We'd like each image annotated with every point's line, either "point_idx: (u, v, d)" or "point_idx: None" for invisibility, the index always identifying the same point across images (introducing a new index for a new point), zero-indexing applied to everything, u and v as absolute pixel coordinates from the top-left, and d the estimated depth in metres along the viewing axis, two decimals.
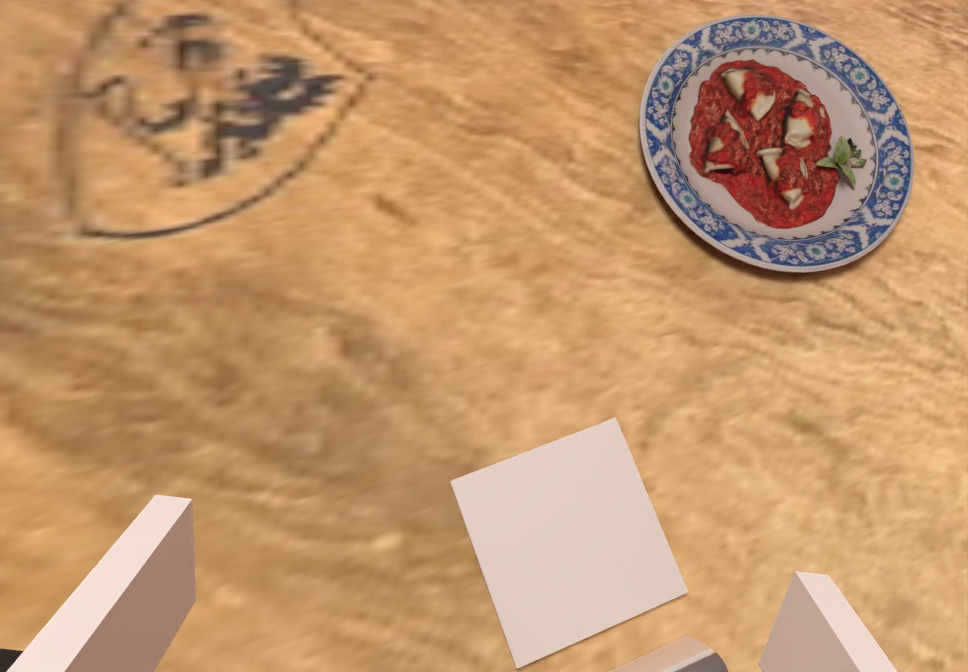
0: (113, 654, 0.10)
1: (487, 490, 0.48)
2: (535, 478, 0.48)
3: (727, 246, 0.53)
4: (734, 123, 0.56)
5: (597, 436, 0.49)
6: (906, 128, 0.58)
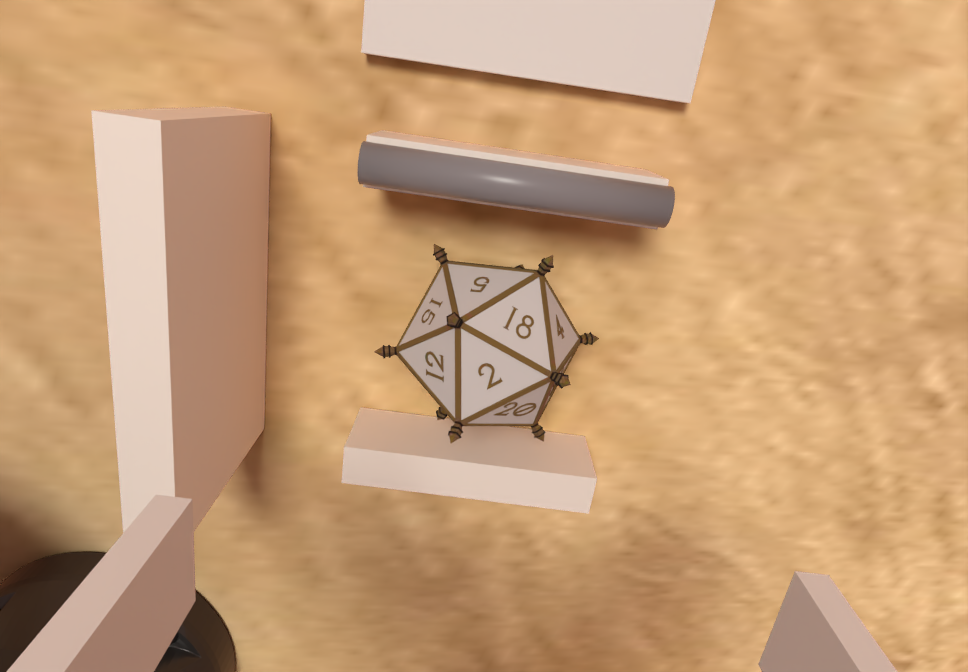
0: (113, 654, 0.10)
1: None
2: None
3: None
4: None
5: None
6: None
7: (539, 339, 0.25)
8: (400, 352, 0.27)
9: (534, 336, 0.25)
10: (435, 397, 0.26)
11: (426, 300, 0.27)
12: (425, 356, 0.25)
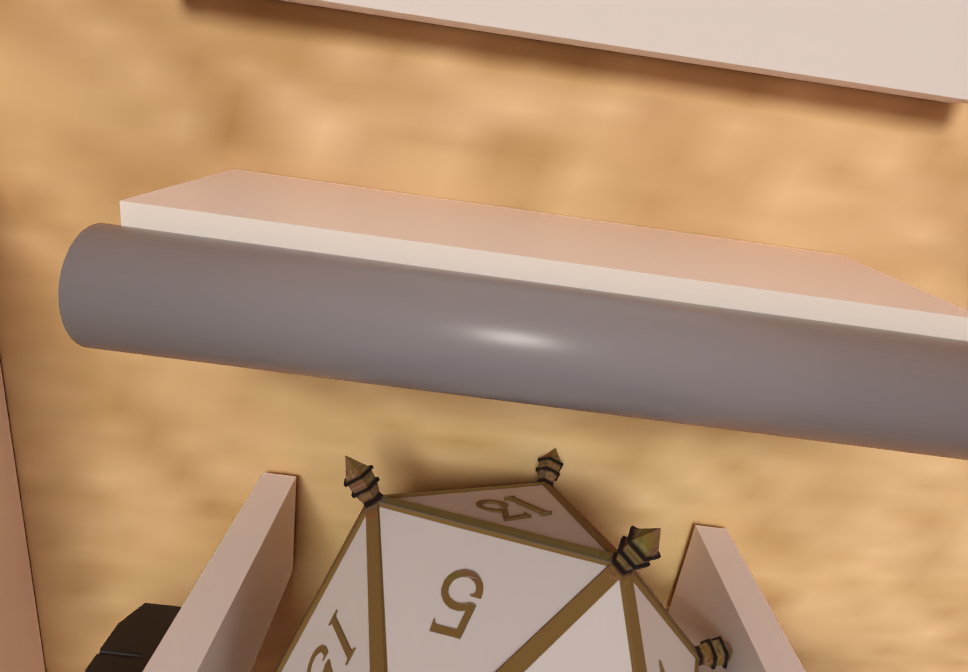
0: (248, 610, 0.12)
1: None
2: None
3: None
4: None
5: None
6: None
7: None
8: None
9: None
10: None
11: (324, 605, 0.10)
12: None
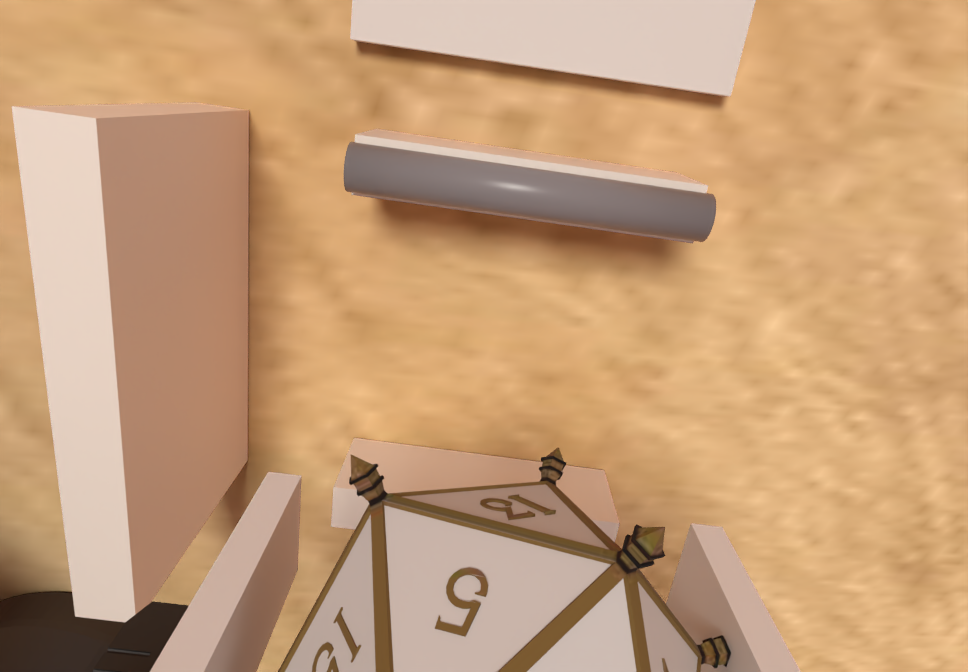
0: (254, 609, 0.12)
1: None
2: None
3: None
4: None
5: None
6: None
7: None
8: None
9: None
10: None
11: (329, 603, 0.11)
12: None
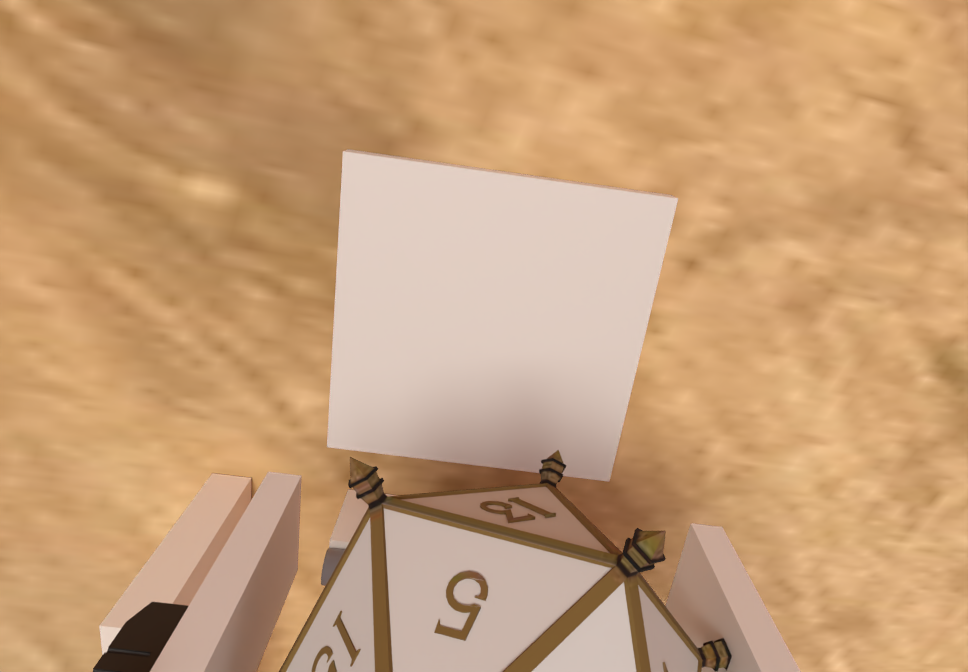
0: (254, 609, 0.12)
1: (398, 199, 0.26)
2: (486, 223, 0.27)
3: None
4: None
5: (626, 212, 0.26)
6: None
7: None
8: None
9: None
10: None
11: (329, 606, 0.10)
12: None
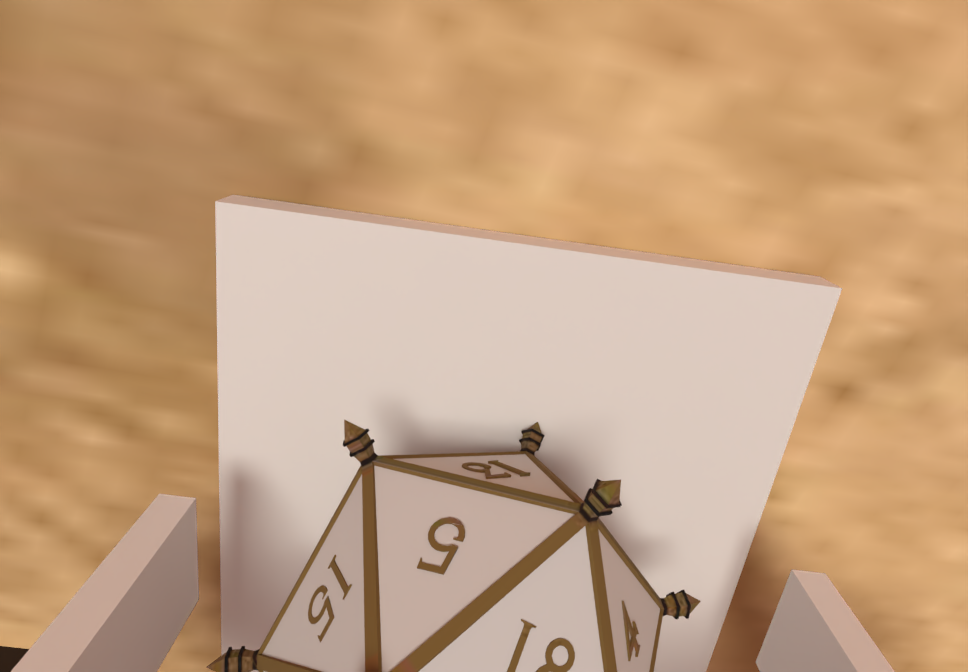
0: (118, 652, 0.11)
1: (323, 289, 0.14)
2: (486, 330, 0.15)
3: None
4: None
5: (744, 311, 0.14)
6: None
7: None
8: (264, 671, 0.12)
9: None
10: None
11: (324, 552, 0.12)
12: None
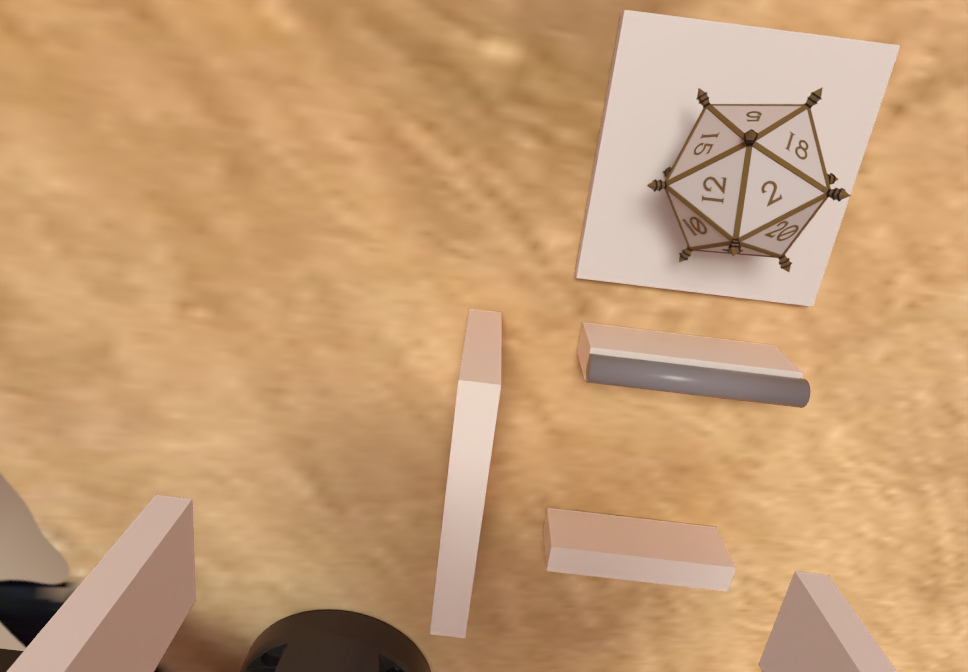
0: (113, 654, 0.10)
1: (664, 52, 0.32)
2: (736, 71, 0.32)
3: None
4: None
5: (855, 58, 0.32)
6: None
7: (814, 161, 0.27)
8: (671, 185, 0.29)
9: (810, 158, 0.27)
10: (710, 220, 0.29)
11: (694, 138, 0.29)
12: (703, 182, 0.28)
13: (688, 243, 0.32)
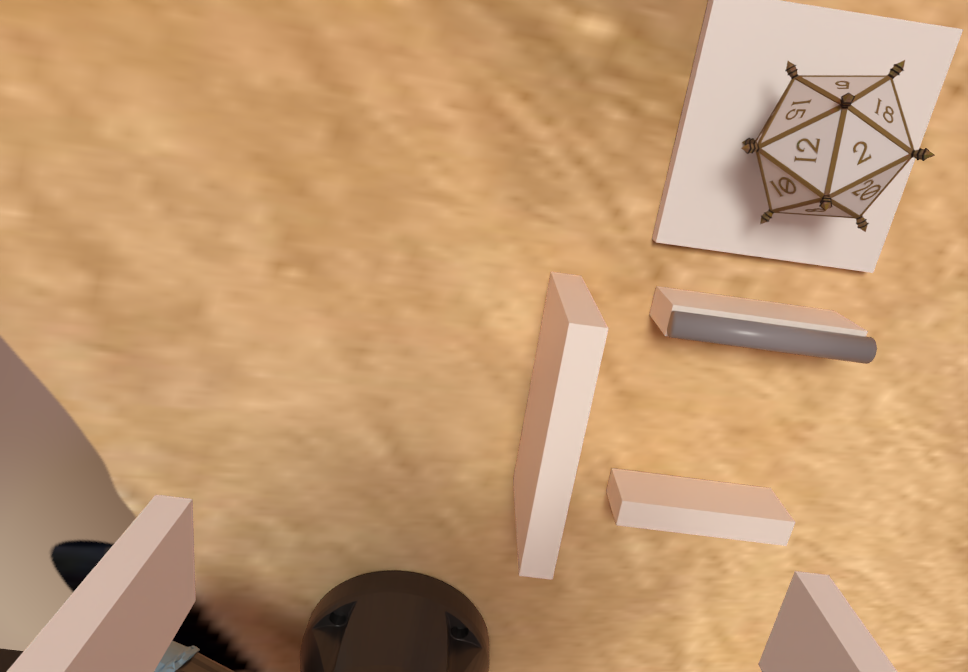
0: (113, 654, 0.10)
1: (750, 30, 0.35)
2: (814, 49, 0.35)
3: None
4: None
5: (922, 40, 0.35)
6: None
7: (899, 125, 0.30)
8: (763, 148, 0.32)
9: (895, 122, 0.30)
10: (802, 179, 0.31)
11: (784, 105, 0.32)
12: (797, 144, 0.31)
13: (771, 205, 0.35)
